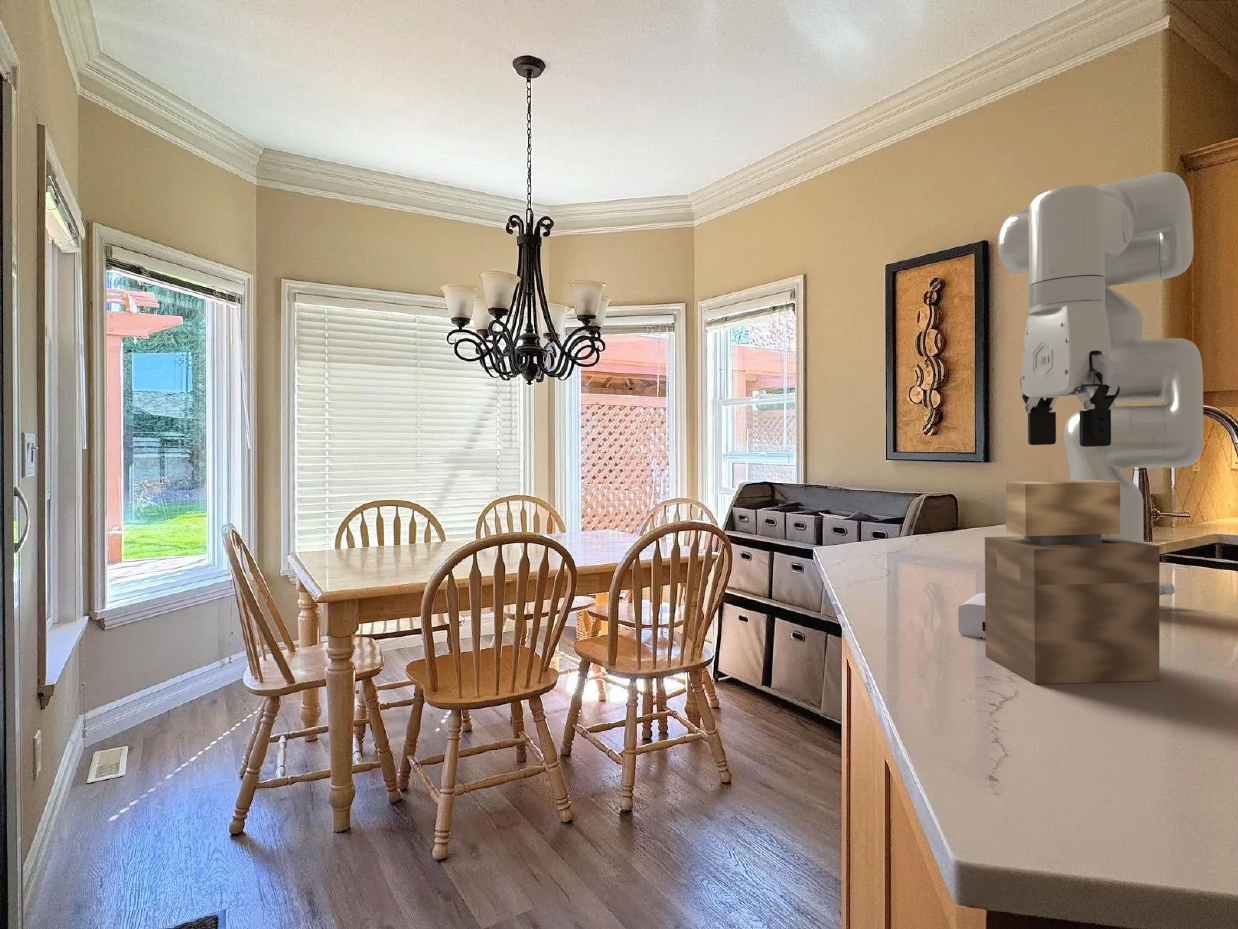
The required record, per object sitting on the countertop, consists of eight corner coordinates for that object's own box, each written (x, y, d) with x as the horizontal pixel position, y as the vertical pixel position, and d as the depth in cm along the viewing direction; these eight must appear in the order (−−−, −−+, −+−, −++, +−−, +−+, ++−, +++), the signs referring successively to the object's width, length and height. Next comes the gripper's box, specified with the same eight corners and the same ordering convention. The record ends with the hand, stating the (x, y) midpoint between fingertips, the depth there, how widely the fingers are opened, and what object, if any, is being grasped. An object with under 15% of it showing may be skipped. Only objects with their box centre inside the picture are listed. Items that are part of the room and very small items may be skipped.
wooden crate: (1096, 653, 91) (1095, 534, 90) (1159, 680, 80) (1159, 546, 80) (985, 656, 91) (984, 537, 90) (1034, 684, 80) (1034, 549, 80)
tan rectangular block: (1096, 571, 87) (1096, 480, 87) (1120, 577, 83) (1120, 481, 83) (1006, 573, 87) (1006, 482, 87) (1025, 579, 83) (1025, 484, 83)
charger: (1053, 623, 107) (1033, 647, 95) (984, 615, 112) (958, 636, 101) (1053, 591, 106) (1033, 611, 95) (984, 584, 112) (958, 602, 101)
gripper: (994, 311, 93) (995, 445, 94) (1083, 284, 76) (1084, 448, 76) (1052, 309, 93) (1053, 443, 94) (1154, 282, 76) (1154, 445, 77)
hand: (1067, 445), depth 85 cm, fingers open, 9 cm apart
